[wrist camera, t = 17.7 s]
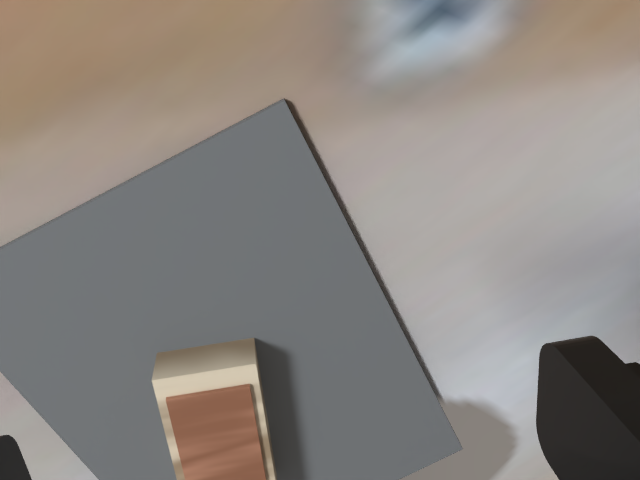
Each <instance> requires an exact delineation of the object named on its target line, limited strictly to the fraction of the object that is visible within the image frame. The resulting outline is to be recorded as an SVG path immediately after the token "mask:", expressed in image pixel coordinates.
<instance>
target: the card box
mask: <svg viewBox="0 0 640 480" xmlns="http://www.w3.org/2000/svg"><path fill="white" fill-rule="evenodd" d="M152 384H153V388H154V392H155V396H156V399H157V403H158V407H159V411H160V415H161V419H162V423H163V427H164V431H165V435H166V439H167V443H168V447H169V451H170V455H171V459H172V463H173V466H174V470H175V474H176V478H177V480H277V474H276V468H275V462H274V456H273V450H272V443H271V437H270V431H269V425H268V419H267V413H266V407H265V401H264V395H263V389H262V383H261V377H260V370H259V364H258V358H257V352H256V346H255V340H254V338H249V339H242V340H236V341H230V342H223V343H217V344H210V345H204V346H198V347H191V348H185V349H179V350H172V351H166V352H159V353H157V355H156V360H155V365H154V371H153V376H152Z"/></svg>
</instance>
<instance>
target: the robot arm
mask: <svg viewBox="0 0 640 480" xmlns="http://www.w3.org/2000/svg"><path fill="white" fill-rule="evenodd" d="M536 426H537V434H538V438H539V442H540V445H541V448H542V451H543V453H544V456H545V458H546V460H547V461H548V463H549V465H550V466H551V468H552V469H553V471H554V472H555V474H556V475H557V477H558V478H559V480H640V364H638V363H636V362H634V363H628V364H625V363H624V362H623V361H622V360H621V359H620V358H619V357H618V356H617V355H616V354H615V353H613V352H612V351H611V350H610V349H609V348H608V347H607V346H606V345H605V344H604V343H603V342H602V341H601V340H600V339H599V338H597V337H595V336H587V337H581V338H575V339H569V340H564V341H558V342H552V343H546V344H544V345H543V346H542V348H541V351H540V357H539V376H538V395H537V415H536ZM0 480H32V479H31V477H30V474H29V472H28V469H27V466H26V464H25V461H24V459H23V456H22V454H21V451H20V449H19V446H18V444H17V442H16V441H15V439H14V438H13V437H11V436H9V435H3V436H0Z"/></svg>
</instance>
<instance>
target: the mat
mask: <svg viewBox="0 0 640 480" xmlns="http://www.w3.org/2000/svg"><path fill="white" fill-rule="evenodd" d="M249 338H254V340H255V346H256V352H257V358H258V364H259V370H260V377H261V383H262V389H263V395H264V401H265V407H266V413H267V419H268V425H269V431H270V437H271V443H272V450H273V456H274V462H275V468H276V474H277V480H399V479H401V478H403V477H405V476H407V475H410V474H412V473H414V472H416V471H418V470H420V469H422V468H424V467H426V466H428V465H431V464H432V463H435V462H437V461H439V460H441V459H443V458H445V457H447V456H449V455H451V454H454V453H456V452H458V451H460V450H462V449H463V448H462V446H461V444H460V442H459V440H458V438H457V437H456V435H455V432H454V430H453V429H452V427H451V425H450V423H449V421H448V419H447V417H446V415H445V413H444V411H443V409H442V407H441V405H440V403H439V401H438V399H437V397H436V395H435V393H434V391H433V389H432V387H431V385H430V383H429V382H428V380H427V378H426V376H425V374H424V372H423V370H422V368H421V366H420V364H419V362H418V360H417V358H416V356H415V354H414V352H413V350H412V348H411V346H410V344H409V342H408V340H407V338H406V337H405V335H404V333H403V331H402V329H401V327H400V325H399V323H398V321H397V319H396V317H395V315H394V313H393V311H392V309H391V307H390V305H389V303H388V301H387V299H386V297H385V295H384V293H383V292H382V290H381V288H380V286H379V284H378V282H377V280H376V278H375V276H374V274H373V272H372V270H371V268H370V266H369V264H368V262H367V260H366V258H365V256H364V254H363V252H362V250H361V248H360V247H359V245H358V243H357V241H356V239H355V237H354V235H353V233H352V231H351V229H350V227H349V225H348V223H347V221H346V219H345V217H344V215H343V213H342V211H341V209H340V207H339V205H338V203H337V202H336V200H335V198H334V196H333V194H332V192H331V190H330V188H329V186H328V184H327V182H326V180H325V178H324V176H323V174H322V172H321V170H320V168H319V166H318V164H317V162H316V160H315V158H314V156H313V155H312V153H311V151H310V149H309V147H308V145H307V143H306V141H305V139H304V137H303V135H302V133H301V131H300V129H299V127H298V125H297V123H296V121H295V119H294V117H293V115H292V113H291V111H290V110H289V108H288V106H287V104H286V102H285V100H284V99H282V100H280V101H278V102H276V103H274V104H272V105H270V106H268V107H267V108H265V109H263V110H261V111H259V112H257V113H255V114H253V115H251V116H249V117H247V118H246V119H244V120H242V121H240V122H238V123H236V124H234V125H232V126H230V127H228V128H227V129H225V130H223V131H221V132H219V133H217V134H215V135H213V136H211V137H209V138H207V139H206V140H204V141H202V142H200V143H198V144H196V145H194V146H192V147H190V148H188V149H186V150H185V151H183V152H181V153H179V154H177V155H175V156H173V157H171V158H169V159H167V160H166V161H164V162H162V163H160V164H158V165H156V166H154V167H152V168H150V169H148V170H146V171H145V172H143V173H141V174H139V175H137V176H135V177H133V178H131V179H129V180H127V181H125V182H124V183H122V184H120V185H118V186H116V187H114V188H112V189H110V190H108V191H106V192H105V193H103V194H101V195H99V196H97V197H95V198H93V199H91V200H89V201H87V202H85V203H84V204H82V205H80V206H78V207H76V208H74V209H72V210H70V211H68V212H66V213H64V214H63V215H61V216H59V217H57V218H55V219H53V220H51V221H49V222H47V223H45V224H44V225H42V226H40V227H38V228H36V229H34V230H32V231H30V232H28V233H26V234H24V235H23V236H21V237H19V238H17V239H15V240H13V241H11V242H9V243H7V244H5V245H4V246H2V247H0V372H1V373H2V374H3V375H4V376H5V377H6V378H7V379H8V380H9V382H10V383H11V384H12V385H13V386H14V387H15V388H16V389H17V390H18V391H19V392H20V394H21V395H22V396H23V397H24V398H25V399H26V400H27V401H28V402H29V403H30V405H31V406H32V407H33V408H34V409H35V410H36V411H37V412H38V413H39V414H40V416H41V417H42V418H43V419H44V420H45V421H46V422H47V423H48V424H49V425H50V427H51V428H52V429H53V430H54V431H55V432H56V433H57V434H58V435H59V436H60V438H61V439H62V440H63V441H64V442H65V443H66V444H67V445H68V446H69V447H70V448H71V450H72V451H73V452H74V453H75V454H76V455H77V456H78V457H79V458H80V459H81V461H82V462H83V463H84V464H85V465H86V466H87V467H88V468H89V469H90V470H91V472H92V473H93V474H94V475H95V476H96V477H97V478H98V479H99V480H177V478H176V474H175V470H174V466H173V463H172V459H171V455H170V451H169V447H168V443H167V439H166V435H165V431H164V427H163V423H162V419H161V415H160V411H159V407H158V403H157V399H156V396H155V392H154V388H153V384H152V376H153V371H154V365H155V360H156V355H157V353H159V352H166V351H172V350H179V349H185V348H191V347H198V346H204V345H210V344H217V343H223V342H230V341H236V340H242V339H249Z"/></svg>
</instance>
